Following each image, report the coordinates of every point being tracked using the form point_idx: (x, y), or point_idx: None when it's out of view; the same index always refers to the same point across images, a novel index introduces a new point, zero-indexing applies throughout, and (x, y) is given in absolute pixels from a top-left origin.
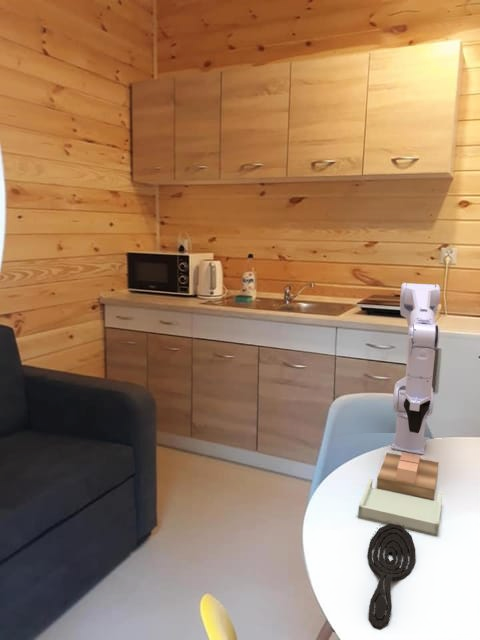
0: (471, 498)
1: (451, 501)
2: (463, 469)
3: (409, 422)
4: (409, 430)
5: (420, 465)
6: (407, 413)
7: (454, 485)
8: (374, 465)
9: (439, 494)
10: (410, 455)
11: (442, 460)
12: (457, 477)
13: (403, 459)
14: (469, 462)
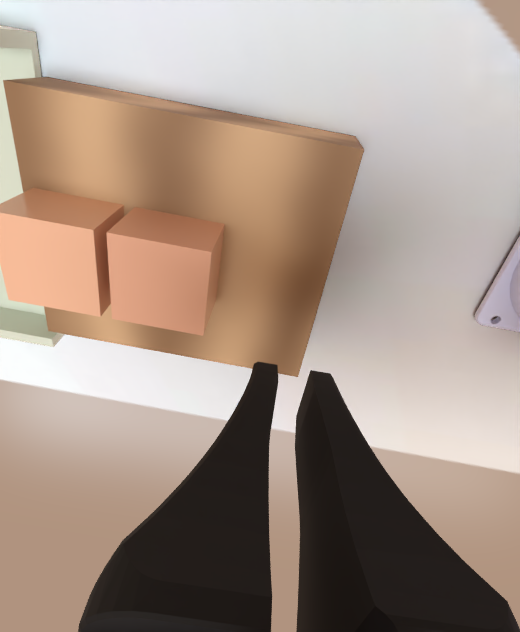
0: (160, 402)
1: (113, 352)
2: (356, 419)
3: (236, 415)
4: (254, 366)
5: (242, 308)
6: (179, 486)
7: (227, 377)
8: (325, 64)
9: (42, 338)
10: (187, 292)
11: (424, 376)
12: (289, 394)
13: (116, 251)
14: (415, 443)
